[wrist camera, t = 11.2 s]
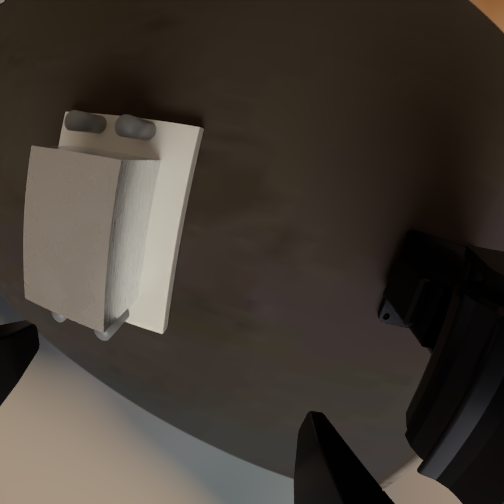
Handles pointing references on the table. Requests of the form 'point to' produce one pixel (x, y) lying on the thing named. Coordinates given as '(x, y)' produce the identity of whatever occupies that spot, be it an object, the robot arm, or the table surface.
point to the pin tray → (163, 206)
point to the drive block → (86, 231)
